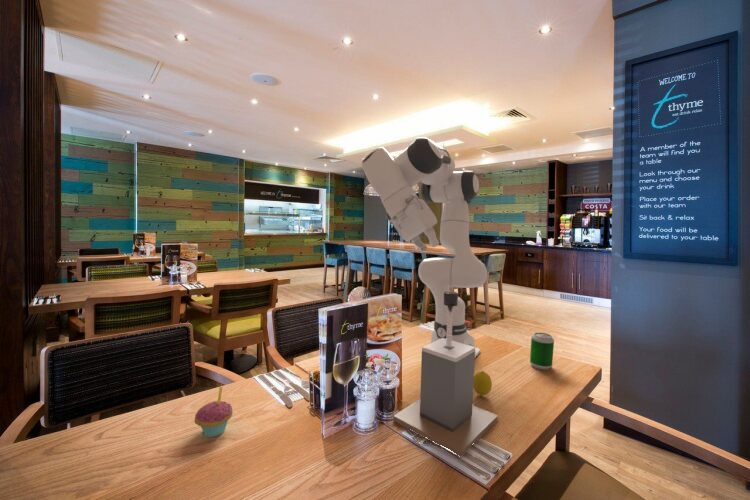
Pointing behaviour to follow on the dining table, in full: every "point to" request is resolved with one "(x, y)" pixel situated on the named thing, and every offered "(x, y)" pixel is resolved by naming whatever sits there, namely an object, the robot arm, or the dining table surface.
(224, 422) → the cupcake
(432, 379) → the press
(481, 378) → the lemon
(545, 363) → the soda can
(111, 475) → the dining table surface
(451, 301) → the plunger
